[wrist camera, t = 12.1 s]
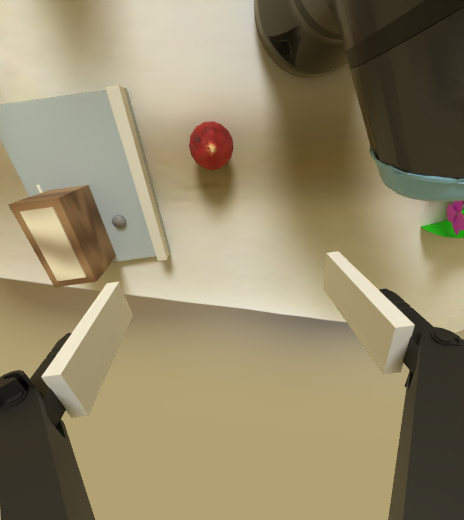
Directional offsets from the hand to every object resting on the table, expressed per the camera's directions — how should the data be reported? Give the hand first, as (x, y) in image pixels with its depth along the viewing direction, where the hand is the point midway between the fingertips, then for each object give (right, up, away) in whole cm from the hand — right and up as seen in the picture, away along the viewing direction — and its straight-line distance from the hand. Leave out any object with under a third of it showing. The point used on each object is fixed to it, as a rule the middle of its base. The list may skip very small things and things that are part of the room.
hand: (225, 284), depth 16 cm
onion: (-3, +19, +20) cm, 28 cm away
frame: (-23, +7, +23) cm, 34 cm away
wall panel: (-21, +12, +22) cm, 33 cm away
